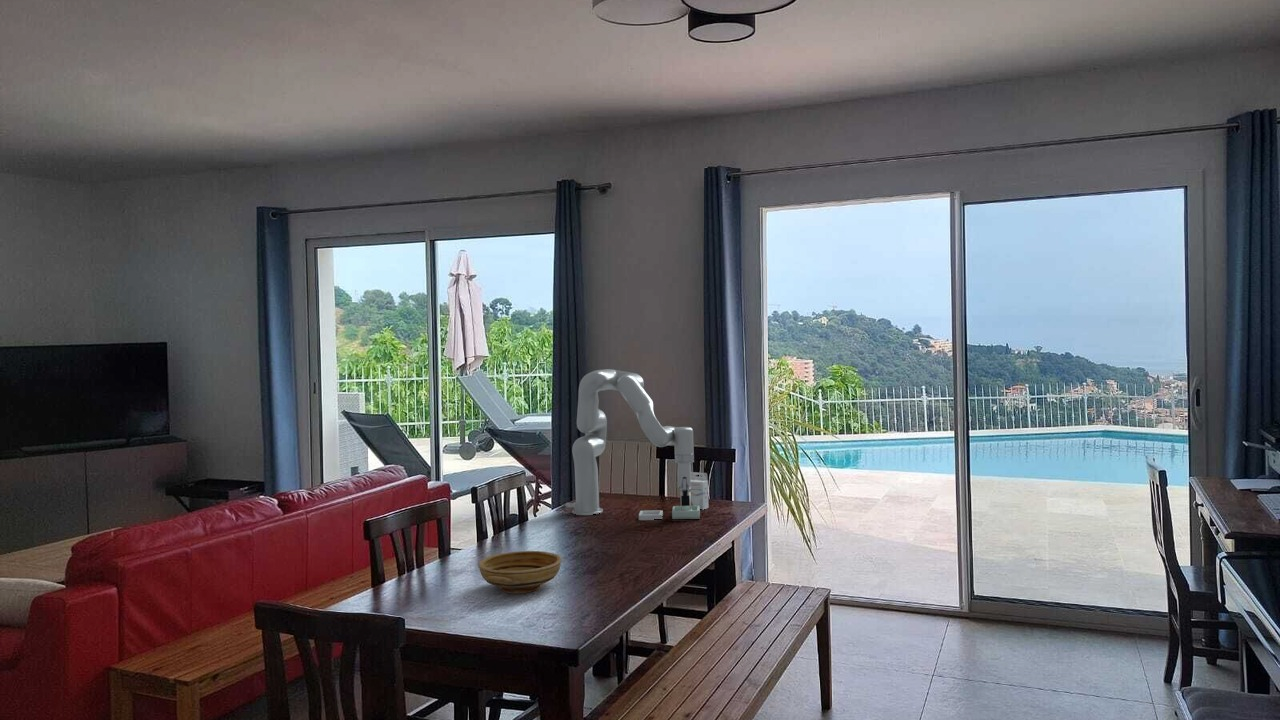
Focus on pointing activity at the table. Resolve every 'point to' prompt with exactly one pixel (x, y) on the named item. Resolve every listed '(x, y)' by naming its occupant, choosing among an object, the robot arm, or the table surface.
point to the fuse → (688, 508)
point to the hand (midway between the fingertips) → (685, 504)
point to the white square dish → (650, 515)
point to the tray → (686, 513)
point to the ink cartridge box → (699, 490)
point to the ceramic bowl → (520, 570)
